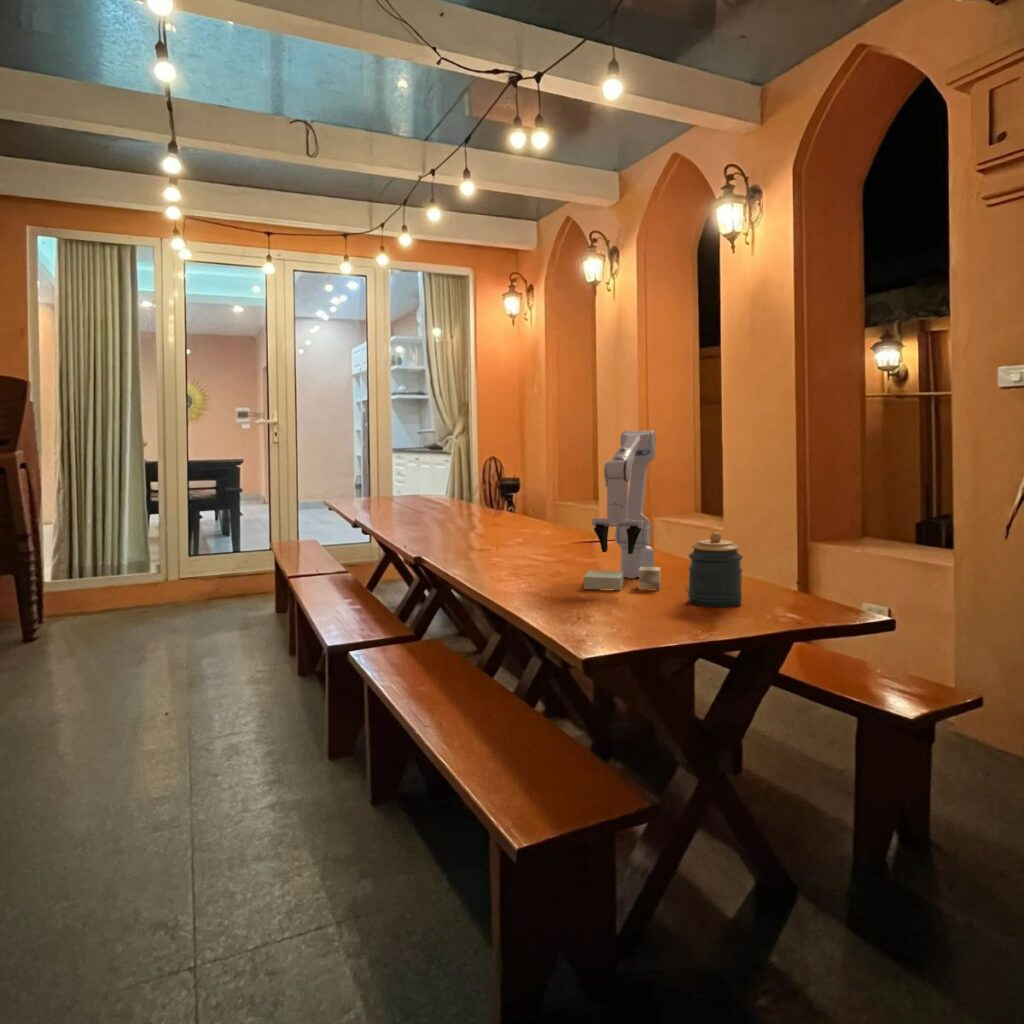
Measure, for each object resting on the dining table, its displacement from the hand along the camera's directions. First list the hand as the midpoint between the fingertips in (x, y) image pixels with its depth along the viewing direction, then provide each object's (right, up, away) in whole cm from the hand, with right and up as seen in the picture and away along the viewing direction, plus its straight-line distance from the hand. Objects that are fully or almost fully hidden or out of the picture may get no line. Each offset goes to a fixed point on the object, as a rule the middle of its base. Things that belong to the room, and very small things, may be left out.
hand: (617, 552), depth 202 cm
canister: (+21, -12, -20) cm, 32 cm away
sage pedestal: (-4, -10, +2) cm, 10 cm away
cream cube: (+9, -10, -1) cm, 13 cm away
